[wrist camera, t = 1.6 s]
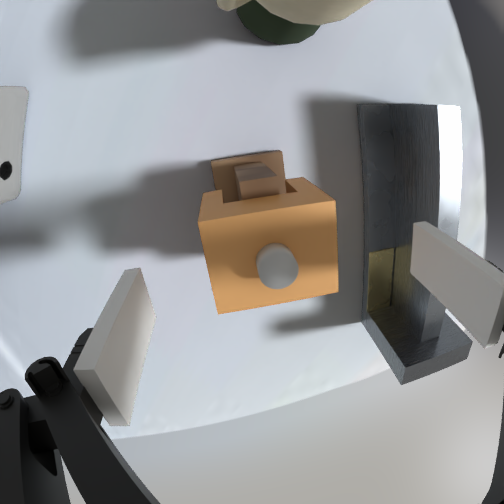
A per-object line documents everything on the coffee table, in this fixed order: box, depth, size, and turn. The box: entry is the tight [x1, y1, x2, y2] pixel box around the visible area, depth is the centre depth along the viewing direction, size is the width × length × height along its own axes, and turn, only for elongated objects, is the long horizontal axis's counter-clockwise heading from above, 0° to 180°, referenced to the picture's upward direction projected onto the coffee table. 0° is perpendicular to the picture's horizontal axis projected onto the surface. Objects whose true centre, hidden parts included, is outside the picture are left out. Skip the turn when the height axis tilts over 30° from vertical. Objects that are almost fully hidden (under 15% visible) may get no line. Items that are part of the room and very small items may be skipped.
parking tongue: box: [211, 150, 286, 203], centre depth 21 cm, size 5×8×7 cm, turn 8°
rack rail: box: [357, 104, 472, 385], centre depth 22 cm, size 7×20×9 cm, turn 8°
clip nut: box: [198, 177, 338, 314], centre depth 18 cm, size 6×5×7 cm
